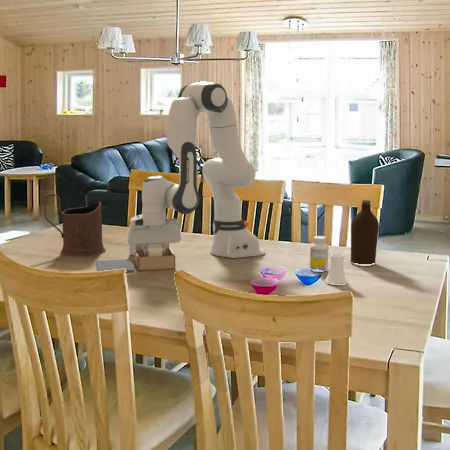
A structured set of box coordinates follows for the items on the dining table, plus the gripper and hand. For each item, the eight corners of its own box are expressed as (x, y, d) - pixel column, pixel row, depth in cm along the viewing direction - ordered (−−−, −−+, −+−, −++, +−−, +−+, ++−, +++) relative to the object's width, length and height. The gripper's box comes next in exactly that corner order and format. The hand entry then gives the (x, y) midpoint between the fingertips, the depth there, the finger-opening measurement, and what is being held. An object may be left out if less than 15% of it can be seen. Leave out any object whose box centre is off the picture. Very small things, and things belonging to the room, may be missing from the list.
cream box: (159, 262, 237) (159, 239, 235) (162, 267, 230) (162, 244, 228) (146, 263, 236) (146, 240, 234) (149, 267, 229) (148, 244, 227)
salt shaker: (347, 280, 215) (349, 253, 213) (346, 286, 208) (347, 258, 206) (326, 279, 217) (327, 251, 215) (324, 285, 210) (325, 257, 208)
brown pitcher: (109, 255, 248) (108, 194, 243) (48, 260, 239) (45, 197, 234) (101, 245, 265) (99, 188, 260) (44, 249, 256) (41, 190, 251)
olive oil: (381, 266, 235) (385, 202, 230) (357, 268, 232) (360, 203, 227) (367, 259, 245) (371, 198, 240) (344, 261, 242) (347, 199, 237)
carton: (170, 259, 241) (170, 235, 239) (175, 268, 228) (175, 242, 226) (134, 261, 237) (134, 236, 235) (138, 270, 225) (137, 244, 223)
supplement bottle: (315, 267, 232) (316, 234, 230) (330, 270, 228) (332, 237, 226) (306, 270, 227) (307, 237, 225) (321, 274, 223) (323, 240, 220)
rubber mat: (130, 261, 239) (130, 259, 238) (134, 272, 223) (134, 269, 223) (96, 262, 236) (96, 260, 235) (98, 273, 220) (98, 271, 220)
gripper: (179, 216, 235) (180, 251, 238) (126, 218, 230) (127, 253, 233) (182, 219, 229) (182, 255, 231) (127, 221, 224) (128, 258, 227)
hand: (154, 254), depth 232 cm, fingers closed on cream box, 5 cm apart
